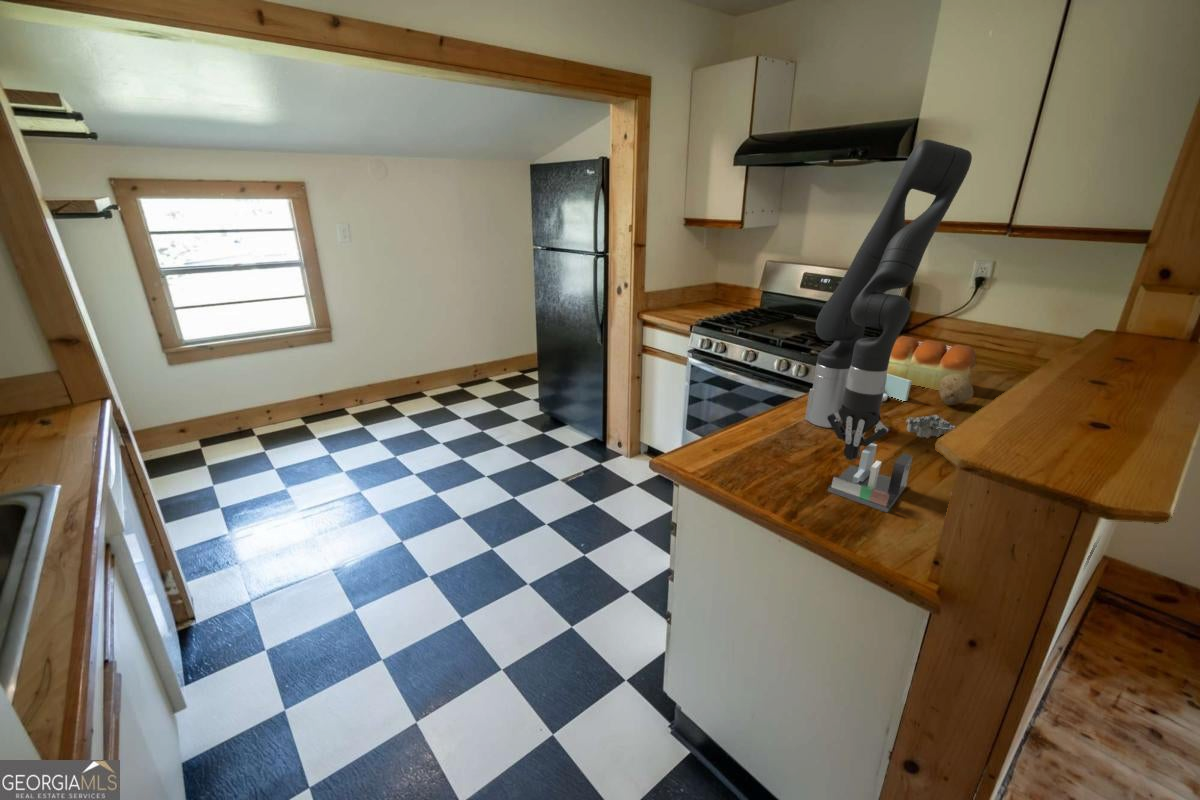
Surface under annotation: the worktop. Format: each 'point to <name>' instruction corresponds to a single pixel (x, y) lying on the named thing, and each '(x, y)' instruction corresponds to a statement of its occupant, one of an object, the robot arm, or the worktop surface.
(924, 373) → the bread
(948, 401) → the natural sponge
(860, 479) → the block
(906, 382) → the l-shaped corner panel
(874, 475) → the bar
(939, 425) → the jagged gray rock
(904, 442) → the worktop surface
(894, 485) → the stand
